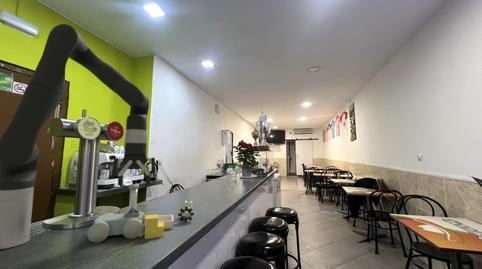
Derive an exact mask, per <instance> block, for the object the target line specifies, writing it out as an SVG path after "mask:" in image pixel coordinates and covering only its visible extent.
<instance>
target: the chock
mask: <svg viewBox="0 0 482 269" xmlns="http://www.w3.org/2000/svg"><path fill="white" fill-rule="evenodd" d="M158 216H159V214H147V215H145V217H146V219H145V222H144V240H145V239H153V238H154V239H155V238H156V239H157V238H164V234H165V232H164V231H165V230H164V222H160V223H158Z"/></svg>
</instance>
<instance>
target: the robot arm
mask: <svg viewBox="0 0 482 269" xmlns="http://www.w3.org/2000/svg"><path fill="white" fill-rule="evenodd" d="M44 45H45V46H44V49H43V52H42V54H41V57H40V59H39V61H38V64H37V65H36V67H35V69H34V72H33V73H32V76H31V78H30V80H29V81H28V83H27V85H26V88H25V90H24V92H23V93H22V96H21V99H20V101H19V103H18V105H17V107H16V110H15V112H14V115H13V117H12V120H11V121H10V123H9V125H8V127H6V129H5V131H4V132H3V134H2V135H1V137H0V250H4V249H9V248H13V247H17V246H20V245H24V244H25V243H27V242H29V241H30V235H31V223H32V213H33V203H34V202H33V201H34V191H35V184H36V183H35V181H36V179H37V176H38V169H39V162H40V149H39V146H38V145H37V140H38V136H39V134H40V131H41V130H42V128H43V126H44V125H45V123H46V122H47V121H48V120H49V119H50V118H51V117H52V115H53V114H54V113H55V111H56V109H57V108H58V106H59V104H60V102H61V99H62V97H63V95H64V93H65V90H66V67H67V63H68V60H69V59H71V60H72V61H74V62H76V63H77V64H79V65H81V66H82V67H84V69H86V70H88V71H89V72H90V73H91V74H92V75H94V76H95V77H96V78H97V80H99V81H100V82H101V83H102V84H103V85H105V86H106V87H107V88H108V89H109V90H111V91H112V92H113V93H115V94H116V95H117V96H119V97H120V99H122V100H123V101H124V102H125V103H126V104H127V105H129V107H130V108H129V115H127V117H126V123H125V134H124V149H123V150H124V151H123V153H124V154H123V158H120V157H119V158H118V157H115V158H114V159H113V163H112V164H113V165H112V172H111V173H112V175H114V176H117V185H118V186H119V187H120V188H124V174H125V173H126V172H127V171H128V170H130V171H132V170H141V169H142V171H143V172H144V173H145V186H148V185H149V184H150V183H151V175H153V174H155V173H156V158H155V157H149V158H148V157H147V151H148V150H147V147H148V146H147V143H148V133H147V127H148V126H147V125H148V123H147V119H148V115H149V109H150V101H149V97H148V96H147V94H146V93H145V92H144V91H143V90H142V89H140V88H139V87H138V86H137V85H135V84H134V83H132V82H131V81H130V80H129V79H128V78H127V77H125V75H123V74H122V73H121V72H120V71H118V70H117V69H116V68H115V67H114V66H112V65H111V64H108V63H107V62H105V61H104V60H102V59H101V58H100V57H98V56H97V55H96V53H94V52H93V50H92V49H91V48H90V47H89V46H88V44H87V43H86V40H84V38H83V37H82V35H81V34H80V33H79V32H78V30H77V29H76V28H74V27H73V26H72V25H69V24H65V23H61V24H57V25H56V26H54V27H53V28H51V30H50V32H49V34H48V36H47V39H46V42H45V44H44ZM147 162H148V163H149V164H151V165H150V166H151V170H150V169H148V168H147V167H146V163H147ZM121 163H123V164H124V166H123V167H122V168H121V169H120V171H119V164H121Z"/></svg>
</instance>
